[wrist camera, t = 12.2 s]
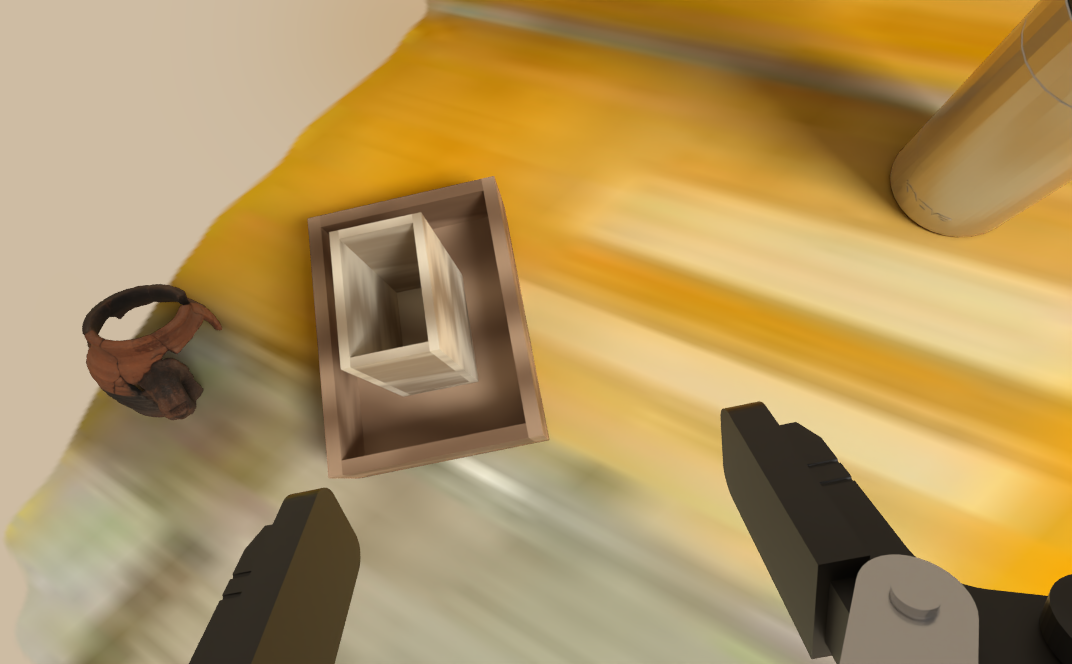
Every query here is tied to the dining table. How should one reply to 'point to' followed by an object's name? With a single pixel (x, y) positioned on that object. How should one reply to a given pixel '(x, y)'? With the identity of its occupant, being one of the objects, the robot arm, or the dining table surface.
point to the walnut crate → (497, 334)
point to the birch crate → (400, 307)
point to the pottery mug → (147, 353)
